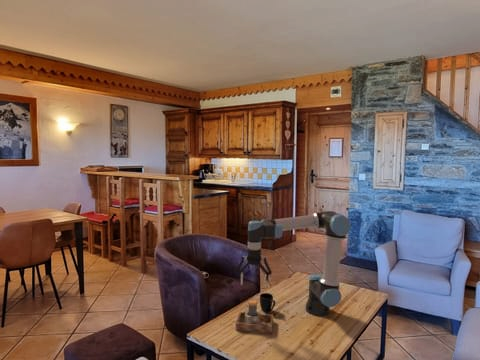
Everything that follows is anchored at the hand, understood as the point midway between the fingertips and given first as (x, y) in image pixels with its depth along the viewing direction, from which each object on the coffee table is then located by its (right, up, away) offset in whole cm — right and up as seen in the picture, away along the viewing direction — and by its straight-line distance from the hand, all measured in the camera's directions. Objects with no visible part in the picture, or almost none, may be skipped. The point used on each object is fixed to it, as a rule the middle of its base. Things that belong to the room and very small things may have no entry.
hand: (253, 285), depth 185 cm
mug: (+10, -23, +19) cm, 31 cm away
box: (+1, -24, +1) cm, 24 cm away
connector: (-1, -21, +1) cm, 21 cm away
